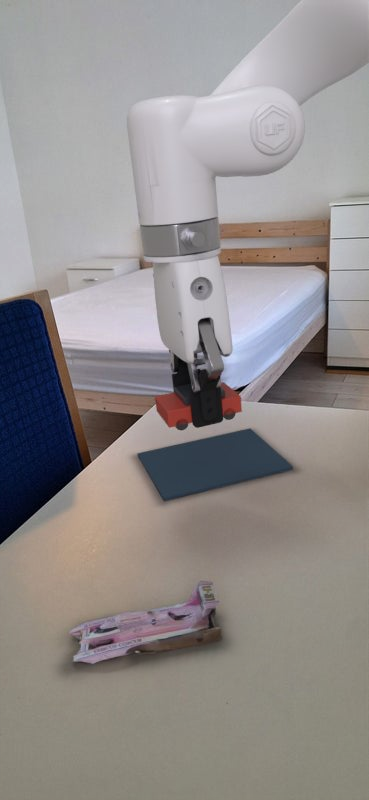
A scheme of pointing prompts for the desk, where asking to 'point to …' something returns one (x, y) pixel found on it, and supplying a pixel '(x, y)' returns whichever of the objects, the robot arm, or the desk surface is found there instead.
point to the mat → (211, 463)
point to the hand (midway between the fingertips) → (198, 412)
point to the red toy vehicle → (179, 409)
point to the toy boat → (151, 629)
